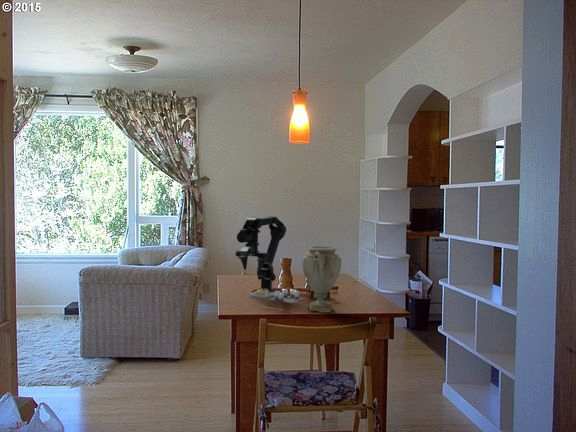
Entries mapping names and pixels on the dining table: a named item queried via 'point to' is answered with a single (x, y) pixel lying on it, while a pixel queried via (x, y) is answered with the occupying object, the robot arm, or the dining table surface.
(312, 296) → the ammunition clip
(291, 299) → the spacer board
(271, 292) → the tray
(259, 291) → the brass nut
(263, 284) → the robot arm
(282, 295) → the spacer posts
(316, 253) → the urn
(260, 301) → the dining table surface
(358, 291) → the dining table surface
